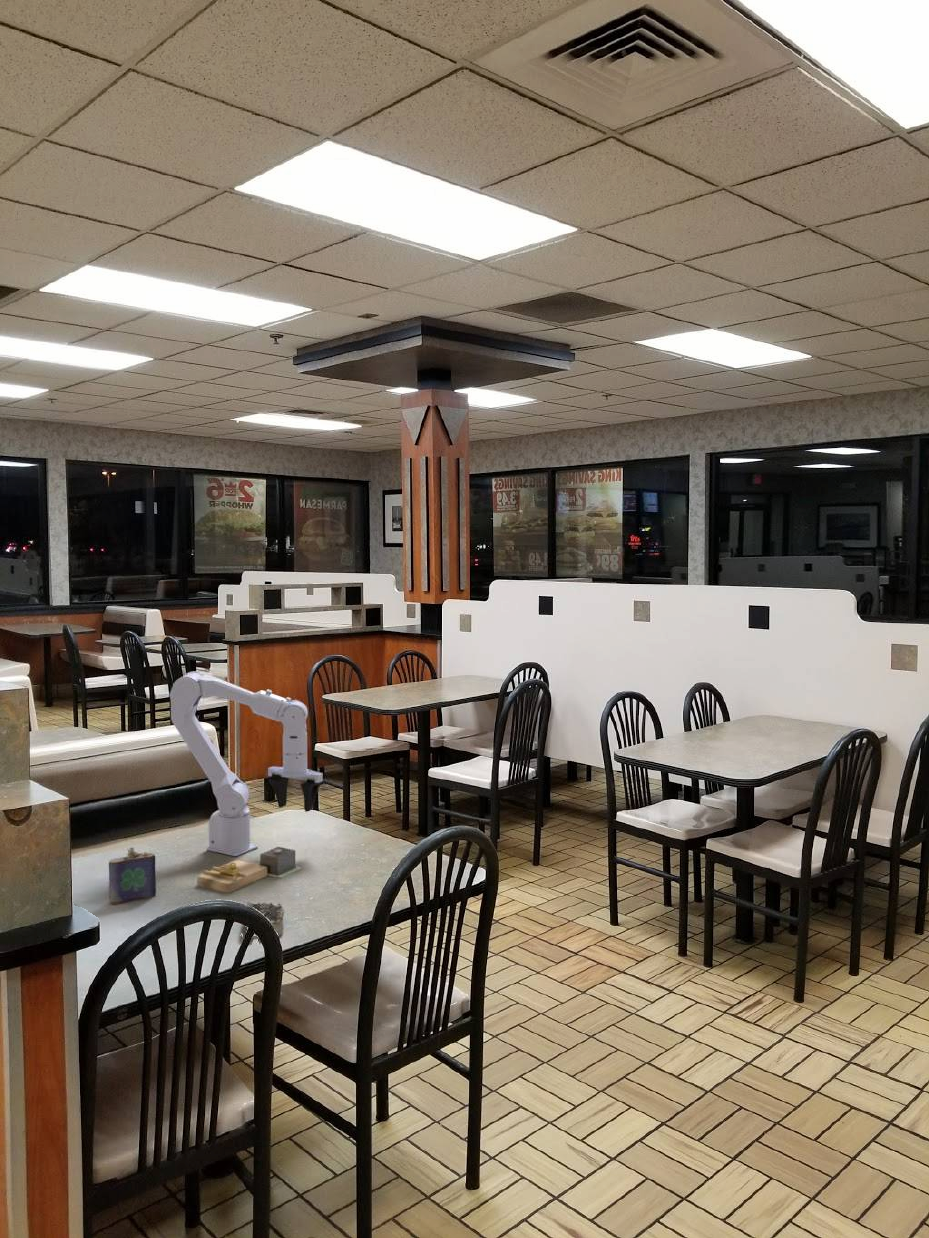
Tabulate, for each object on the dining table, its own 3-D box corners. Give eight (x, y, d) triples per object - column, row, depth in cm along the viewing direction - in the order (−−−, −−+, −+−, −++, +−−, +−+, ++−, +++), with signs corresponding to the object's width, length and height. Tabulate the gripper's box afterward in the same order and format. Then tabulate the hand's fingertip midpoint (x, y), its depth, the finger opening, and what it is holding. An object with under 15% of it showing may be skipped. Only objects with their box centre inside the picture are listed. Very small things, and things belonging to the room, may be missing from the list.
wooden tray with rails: (197, 885, 202) (197, 873, 202) (236, 868, 213) (236, 857, 213) (228, 893, 198) (228, 881, 198) (267, 875, 208) (267, 864, 208)
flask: (110, 905, 191) (109, 854, 190) (107, 901, 193) (106, 850, 192) (157, 897, 196) (156, 847, 195) (154, 893, 198) (153, 843, 197)
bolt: (219, 875, 203) (219, 862, 202) (224, 873, 204) (224, 860, 204) (233, 878, 201) (233, 866, 201) (238, 876, 202) (238, 863, 202)
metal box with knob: (260, 871, 210) (260, 851, 210) (278, 863, 215) (278, 844, 215) (277, 875, 208) (277, 855, 207) (295, 867, 213) (295, 848, 213)
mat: (256, 872, 211) (256, 870, 211) (277, 863, 217) (277, 861, 217) (280, 877, 207) (280, 876, 207) (301, 868, 213) (301, 867, 213)
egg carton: (283, 939, 176) (283, 918, 176) (242, 941, 175) (242, 920, 175) (285, 916, 187) (285, 896, 186) (246, 918, 186) (246, 898, 185)
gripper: (259, 752, 224) (260, 808, 226) (310, 759, 218) (310, 816, 219) (278, 746, 231) (278, 801, 232) (327, 753, 224) (327, 809, 226)
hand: (295, 808), depth 226 cm, fingers open, 7 cm apart
